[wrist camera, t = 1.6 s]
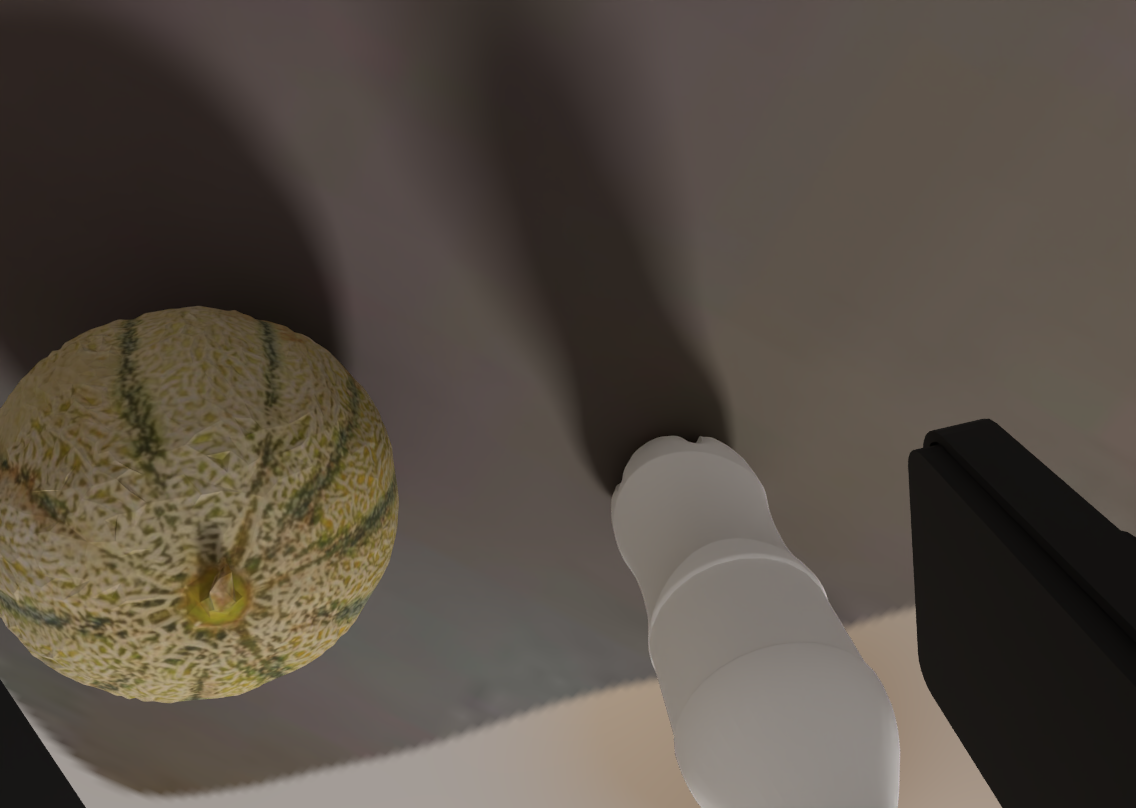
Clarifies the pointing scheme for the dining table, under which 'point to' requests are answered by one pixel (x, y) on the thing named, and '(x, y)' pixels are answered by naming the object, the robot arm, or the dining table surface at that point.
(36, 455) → the cantaloupe
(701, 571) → the water bottle
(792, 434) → the dining table surface
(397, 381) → the dining table surface
